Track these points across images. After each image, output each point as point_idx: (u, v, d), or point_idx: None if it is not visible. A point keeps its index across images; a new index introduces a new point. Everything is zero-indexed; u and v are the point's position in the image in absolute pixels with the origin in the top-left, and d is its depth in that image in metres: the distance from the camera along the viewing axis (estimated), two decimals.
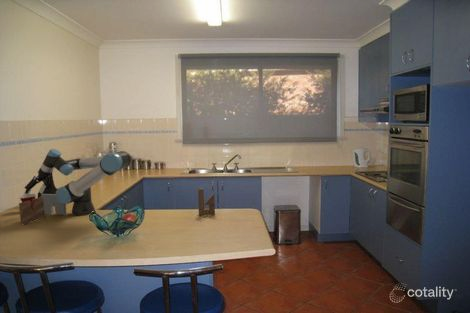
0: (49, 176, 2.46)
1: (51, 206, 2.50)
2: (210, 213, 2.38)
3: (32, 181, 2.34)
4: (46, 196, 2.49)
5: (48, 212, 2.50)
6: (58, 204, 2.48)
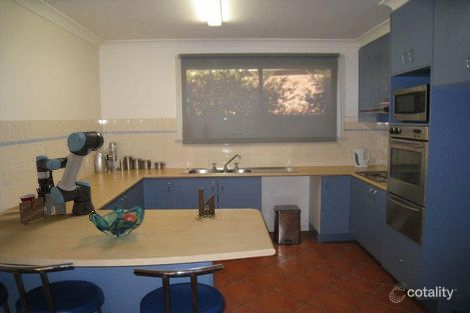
0: (50, 186, 2.55)
1: (51, 206, 2.50)
2: (210, 213, 2.38)
3: (39, 193, 2.45)
4: (46, 196, 2.49)
5: (48, 212, 2.50)
6: (58, 204, 2.48)
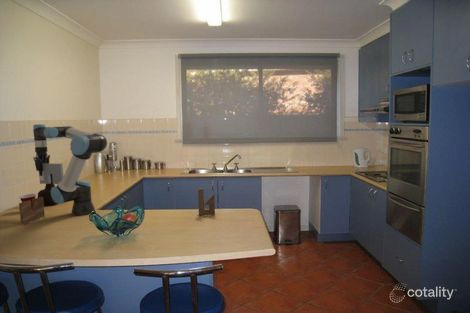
0: (48, 156, 2.52)
1: (48, 175, 2.48)
2: (210, 213, 2.38)
3: (36, 162, 2.43)
4: (43, 165, 2.47)
5: (45, 182, 2.48)
6: (56, 173, 2.45)
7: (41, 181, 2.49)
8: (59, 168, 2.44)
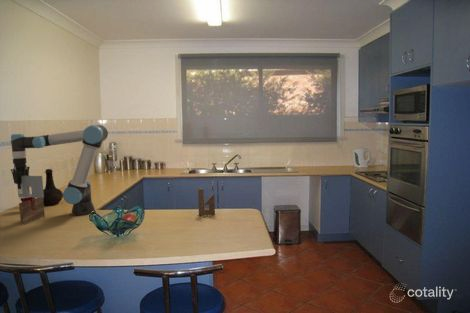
0: (27, 168, 2.37)
1: (27, 188, 2.32)
2: (210, 213, 2.38)
3: (14, 174, 2.27)
4: (22, 178, 2.31)
5: (24, 195, 2.33)
6: (35, 186, 2.30)
7: (20, 194, 2.33)
8: (38, 181, 2.29)
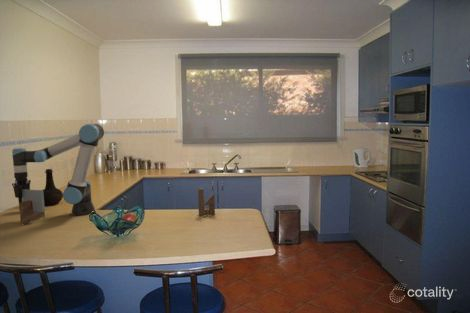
0: (29, 181, 2.38)
1: None
2: (210, 213, 2.38)
3: (15, 188, 2.28)
4: (23, 192, 2.32)
5: None
6: (36, 200, 2.31)
7: None
8: (39, 195, 2.30)
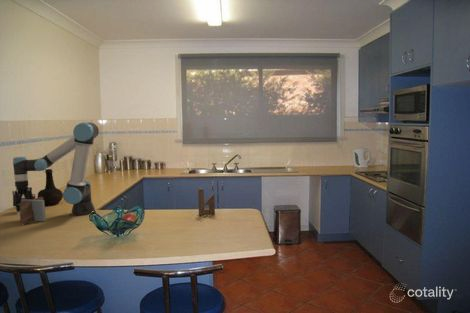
0: (30, 189, 2.39)
1: None
2: (210, 213, 2.38)
3: (14, 196, 2.28)
4: None
5: None
6: (37, 210, 2.32)
7: None
8: (40, 205, 2.31)
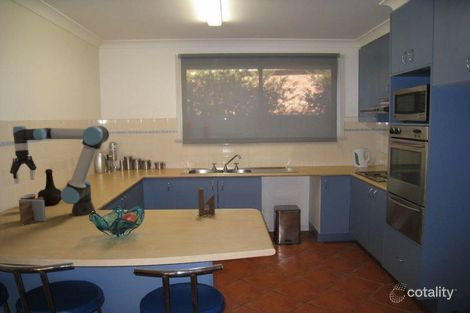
0: (30, 157, 2.40)
1: None
2: (210, 213, 2.38)
3: (13, 163, 2.27)
4: None
5: None
6: (37, 210, 2.32)
7: None
8: (40, 205, 2.31)
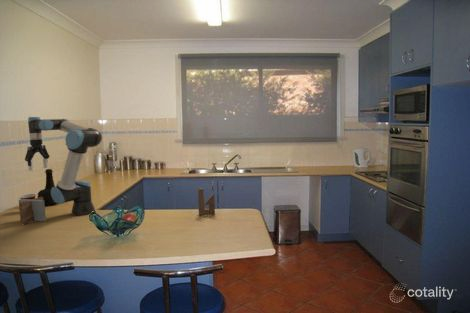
0: (44, 147, 2.54)
1: None
2: (210, 213, 2.38)
3: (28, 151, 2.42)
4: None
5: None
6: (37, 210, 2.32)
7: None
8: (40, 205, 2.31)
